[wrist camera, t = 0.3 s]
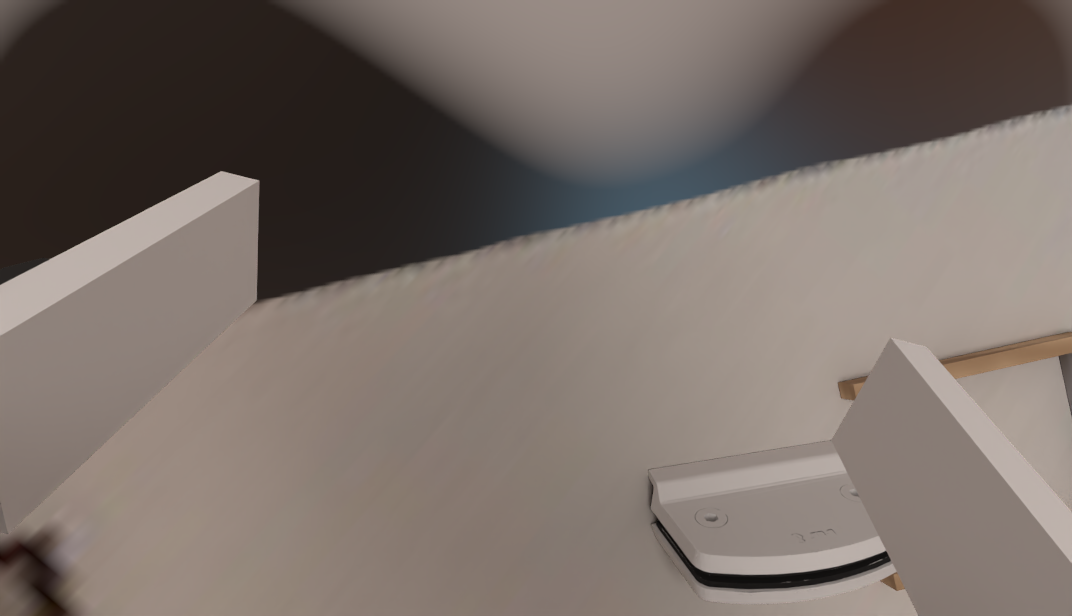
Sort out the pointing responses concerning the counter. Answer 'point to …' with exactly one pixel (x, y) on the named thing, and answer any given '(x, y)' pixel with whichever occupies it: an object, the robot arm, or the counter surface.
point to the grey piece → (767, 526)
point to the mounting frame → (1063, 345)
